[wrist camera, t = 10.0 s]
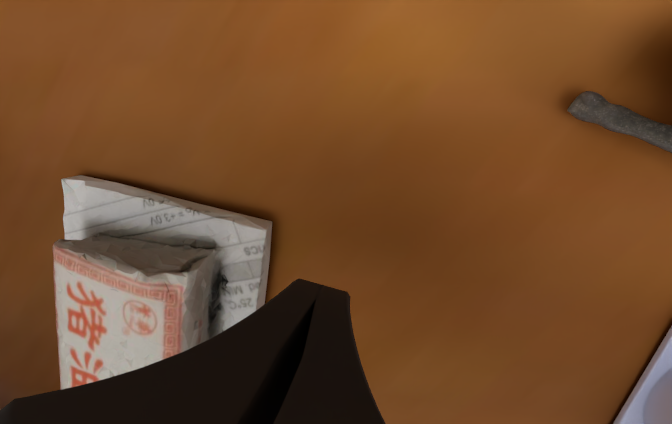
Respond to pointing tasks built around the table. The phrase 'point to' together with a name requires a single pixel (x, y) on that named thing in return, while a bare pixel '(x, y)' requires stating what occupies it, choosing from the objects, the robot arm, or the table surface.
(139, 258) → the packaged product
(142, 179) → the table surface
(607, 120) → the dog figurine
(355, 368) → the robot arm
